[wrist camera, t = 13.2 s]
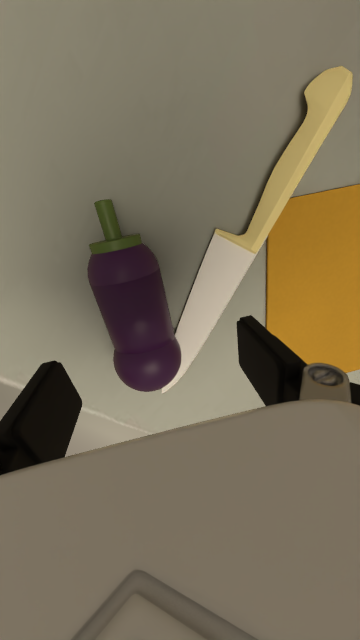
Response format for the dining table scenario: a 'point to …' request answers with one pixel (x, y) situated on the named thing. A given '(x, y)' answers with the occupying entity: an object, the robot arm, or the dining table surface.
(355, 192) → the dish cloth
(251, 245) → the knife
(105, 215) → the eggplant
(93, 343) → the dining table surface
